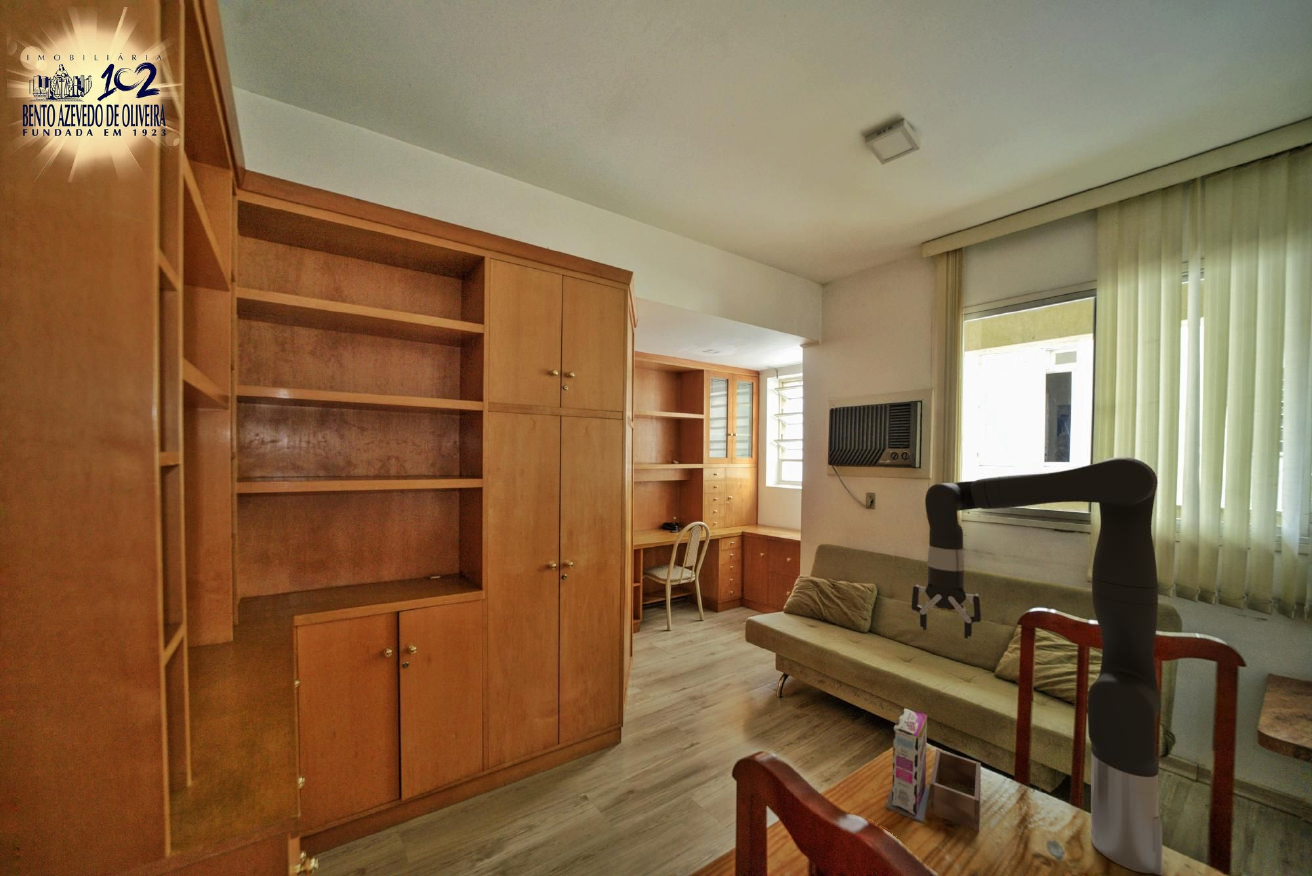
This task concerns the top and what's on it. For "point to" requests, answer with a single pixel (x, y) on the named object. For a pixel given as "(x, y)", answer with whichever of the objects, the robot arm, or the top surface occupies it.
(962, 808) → the walnut sleeve
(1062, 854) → the top surface
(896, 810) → the grey mat
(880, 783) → the top surface
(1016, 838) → the top surface
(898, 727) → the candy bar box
